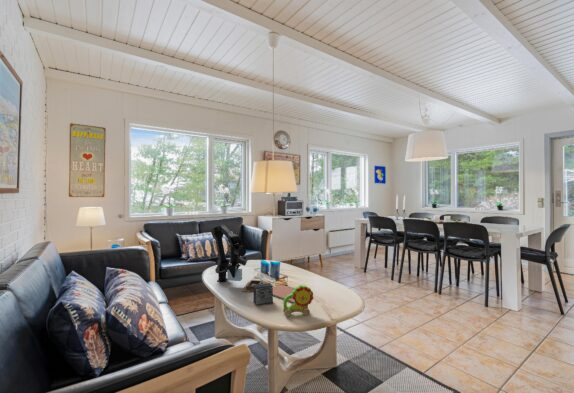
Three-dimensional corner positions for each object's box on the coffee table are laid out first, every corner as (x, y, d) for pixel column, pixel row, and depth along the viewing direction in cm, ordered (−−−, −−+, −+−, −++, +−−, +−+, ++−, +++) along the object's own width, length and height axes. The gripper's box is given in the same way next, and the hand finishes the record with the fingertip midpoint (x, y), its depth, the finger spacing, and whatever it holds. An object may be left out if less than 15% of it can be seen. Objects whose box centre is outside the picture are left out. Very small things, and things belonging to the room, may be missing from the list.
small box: (270, 299, 174) (270, 282, 174) (273, 303, 168) (273, 285, 168) (253, 301, 171) (252, 284, 170) (255, 306, 165) (255, 287, 164)
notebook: (312, 297, 179) (312, 294, 179) (293, 305, 167) (293, 301, 167) (282, 287, 198) (282, 284, 198) (263, 293, 186) (263, 290, 186)
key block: (229, 278, 201) (229, 268, 201) (242, 278, 200) (242, 268, 199) (227, 280, 196) (227, 270, 196) (240, 280, 195) (240, 270, 195)
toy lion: (284, 317, 149) (284, 288, 149) (282, 313, 155) (282, 285, 154) (314, 315, 152) (314, 286, 151) (311, 311, 157) (311, 283, 157)
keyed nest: (248, 283, 205) (248, 278, 205) (266, 283, 204) (266, 279, 204) (241, 292, 187) (241, 287, 187) (261, 292, 186) (261, 288, 186)
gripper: (242, 257, 187) (242, 281, 188) (249, 251, 206) (249, 273, 206) (225, 257, 189) (226, 280, 189) (234, 251, 207) (234, 272, 208)
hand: (234, 276), depth 198 cm, fingers closed on key block, 4 cm apart
